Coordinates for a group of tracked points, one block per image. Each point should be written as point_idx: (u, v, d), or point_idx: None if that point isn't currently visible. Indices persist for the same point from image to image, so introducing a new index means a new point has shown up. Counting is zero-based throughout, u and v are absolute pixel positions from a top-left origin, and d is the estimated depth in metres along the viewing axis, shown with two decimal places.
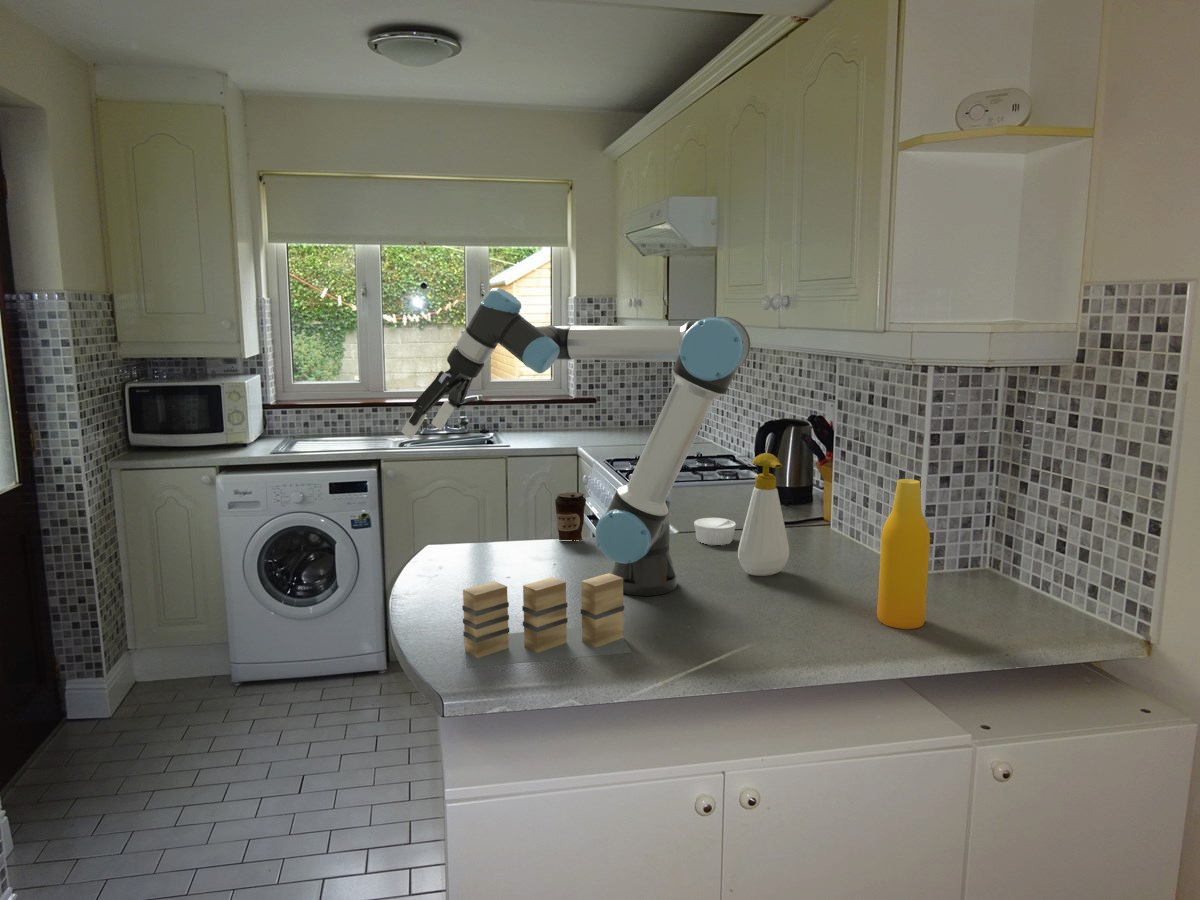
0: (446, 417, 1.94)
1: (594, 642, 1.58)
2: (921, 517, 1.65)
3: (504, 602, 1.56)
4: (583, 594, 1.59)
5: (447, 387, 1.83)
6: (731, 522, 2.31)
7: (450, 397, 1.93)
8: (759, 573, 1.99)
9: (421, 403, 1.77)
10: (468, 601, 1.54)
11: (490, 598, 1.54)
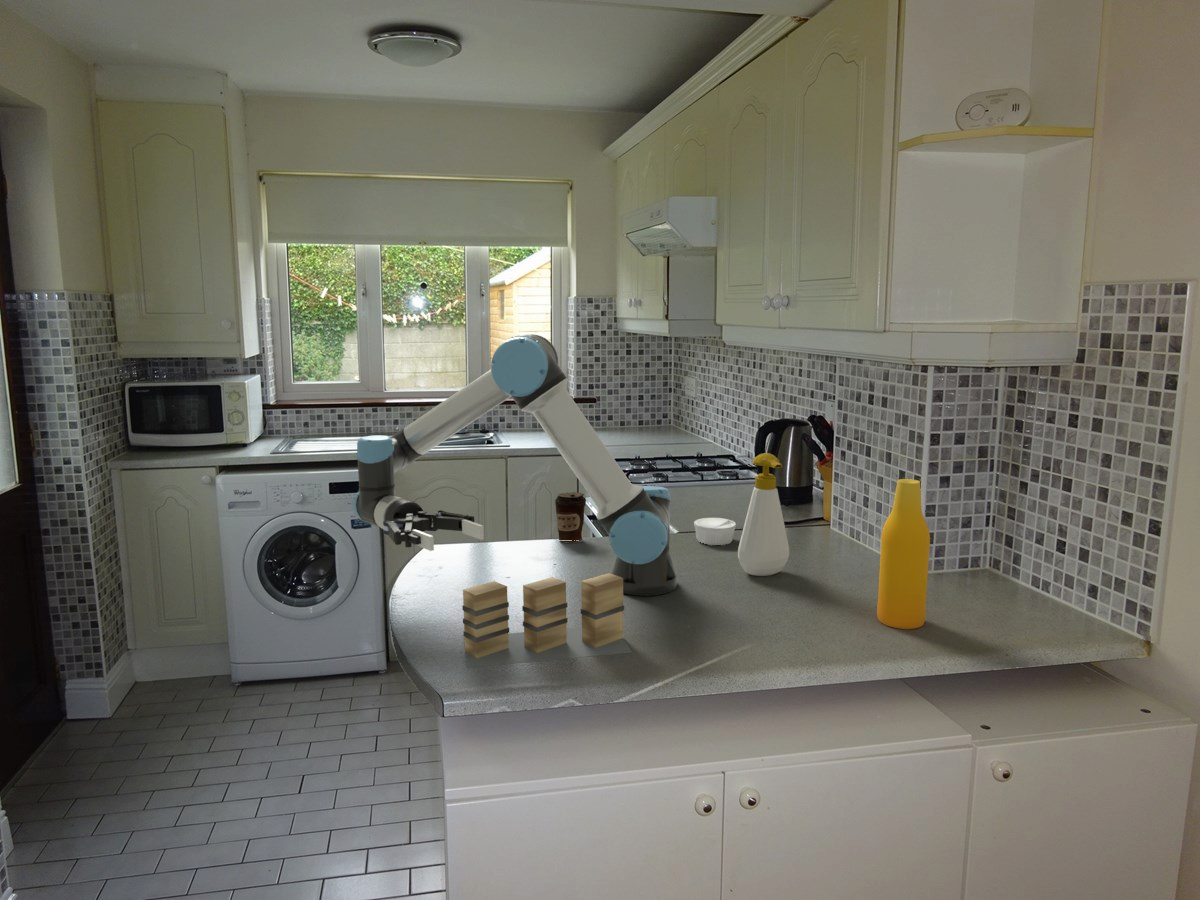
0: (470, 524, 1.67)
1: (594, 642, 1.58)
2: (921, 517, 1.65)
3: (504, 602, 1.56)
4: (583, 594, 1.59)
5: None
6: (731, 522, 2.31)
7: (457, 528, 1.70)
8: (759, 573, 1.99)
9: (393, 536, 1.62)
10: (468, 601, 1.54)
11: (490, 598, 1.54)
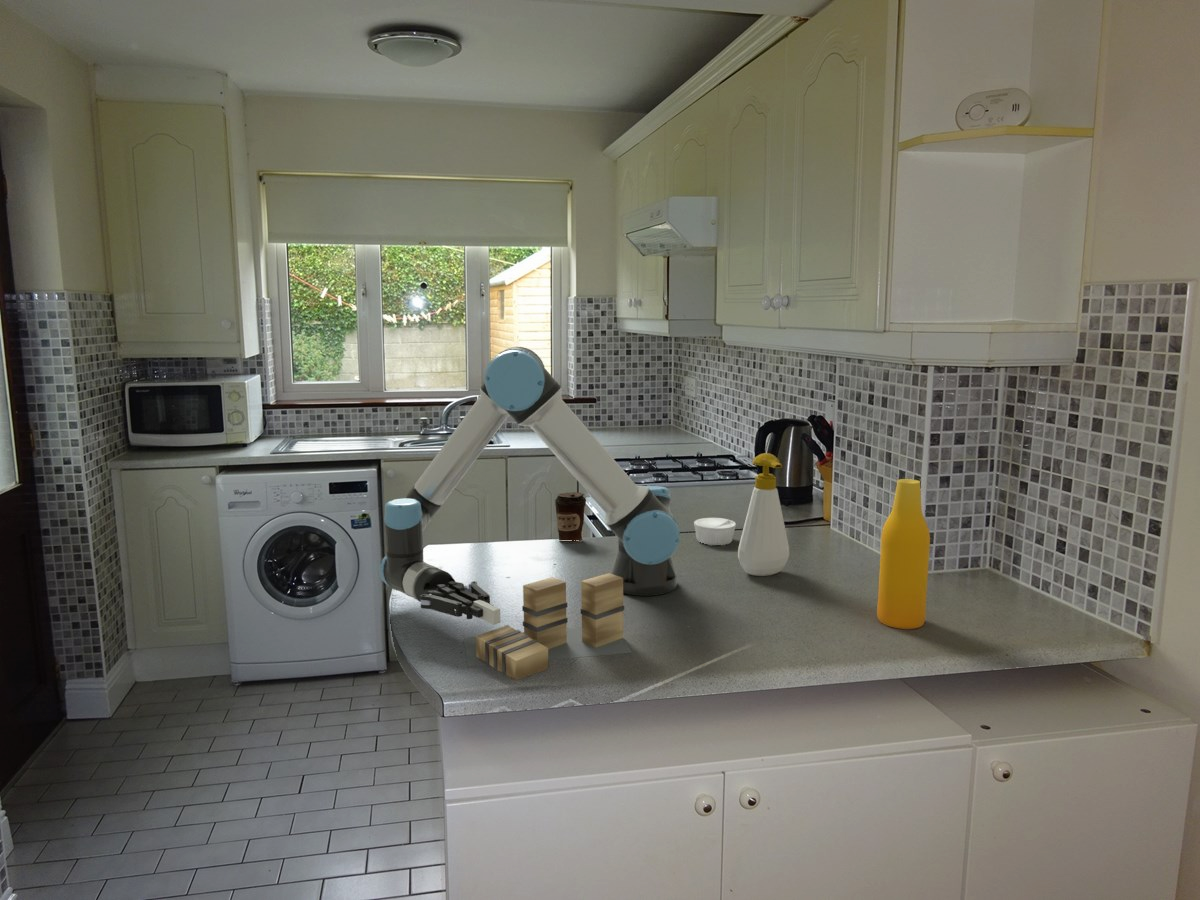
0: None
1: (594, 642, 1.58)
2: (921, 517, 1.65)
3: None
4: (583, 594, 1.59)
5: None
6: (731, 522, 2.31)
7: None
8: (759, 573, 1.99)
9: (452, 608, 1.57)
10: (509, 665, 1.46)
11: None
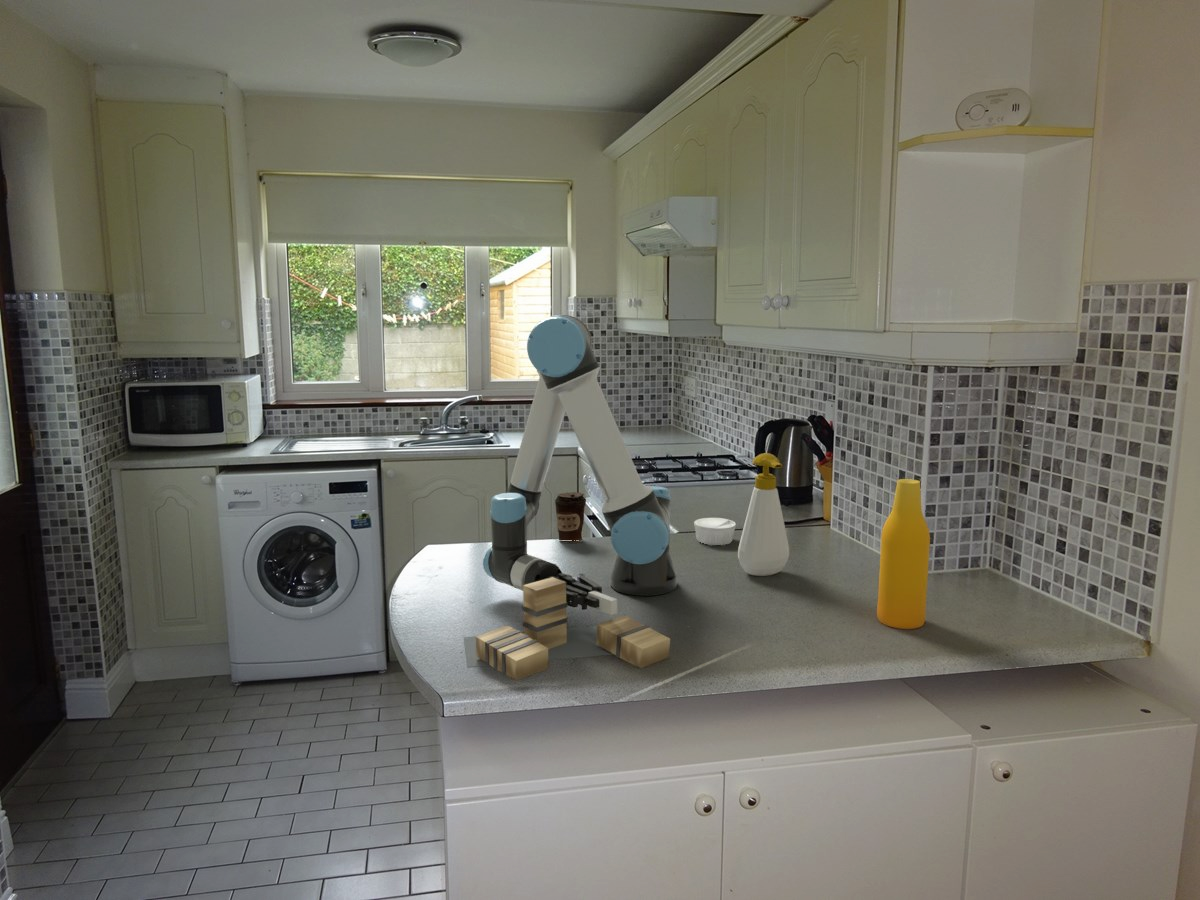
0: None
1: (599, 643, 1.57)
2: (921, 517, 1.65)
3: None
4: (632, 646, 1.50)
5: None
6: (731, 522, 2.31)
7: None
8: (759, 573, 1.99)
9: (567, 599, 1.62)
10: (509, 665, 1.46)
11: None
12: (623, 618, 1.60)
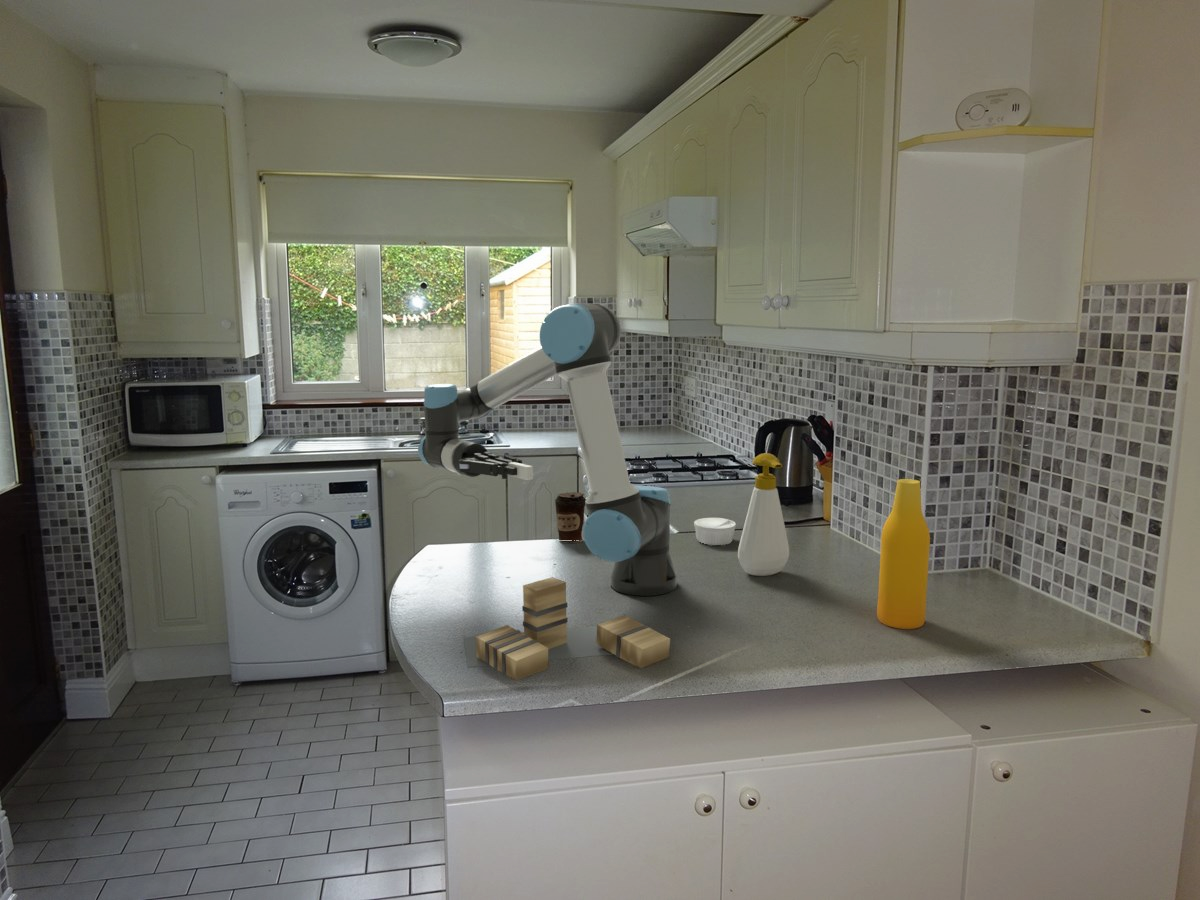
0: None
1: (599, 643, 1.57)
2: (921, 517, 1.65)
3: None
4: (632, 646, 1.50)
5: None
6: (731, 522, 2.31)
7: None
8: (759, 573, 1.99)
9: (489, 469, 1.75)
10: (509, 665, 1.46)
11: None
12: (623, 618, 1.60)
